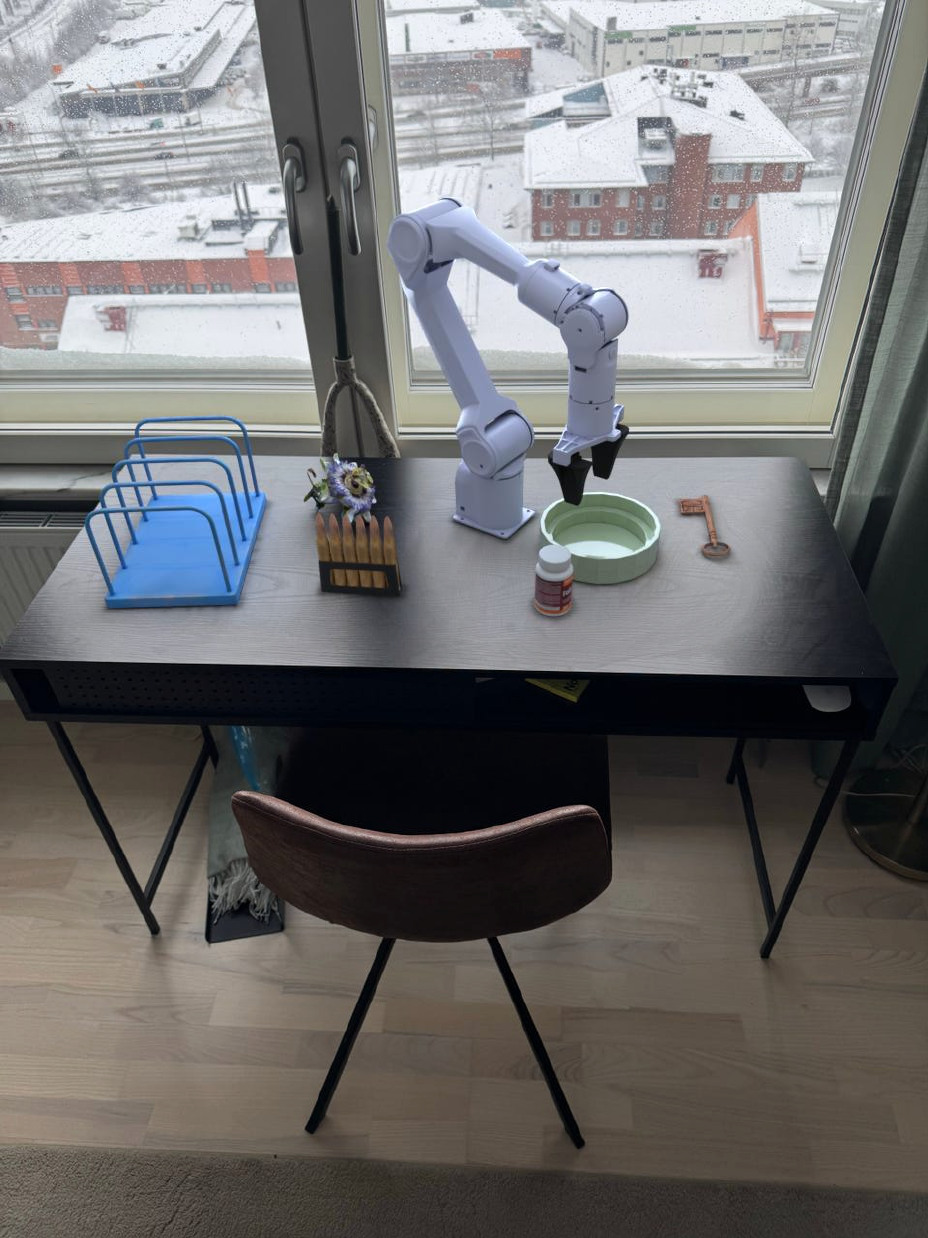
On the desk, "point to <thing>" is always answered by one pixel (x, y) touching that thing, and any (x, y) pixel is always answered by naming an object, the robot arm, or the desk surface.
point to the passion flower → (344, 489)
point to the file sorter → (182, 533)
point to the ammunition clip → (357, 558)
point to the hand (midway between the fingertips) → (587, 489)
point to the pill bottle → (553, 580)
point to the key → (712, 532)
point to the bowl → (603, 536)
